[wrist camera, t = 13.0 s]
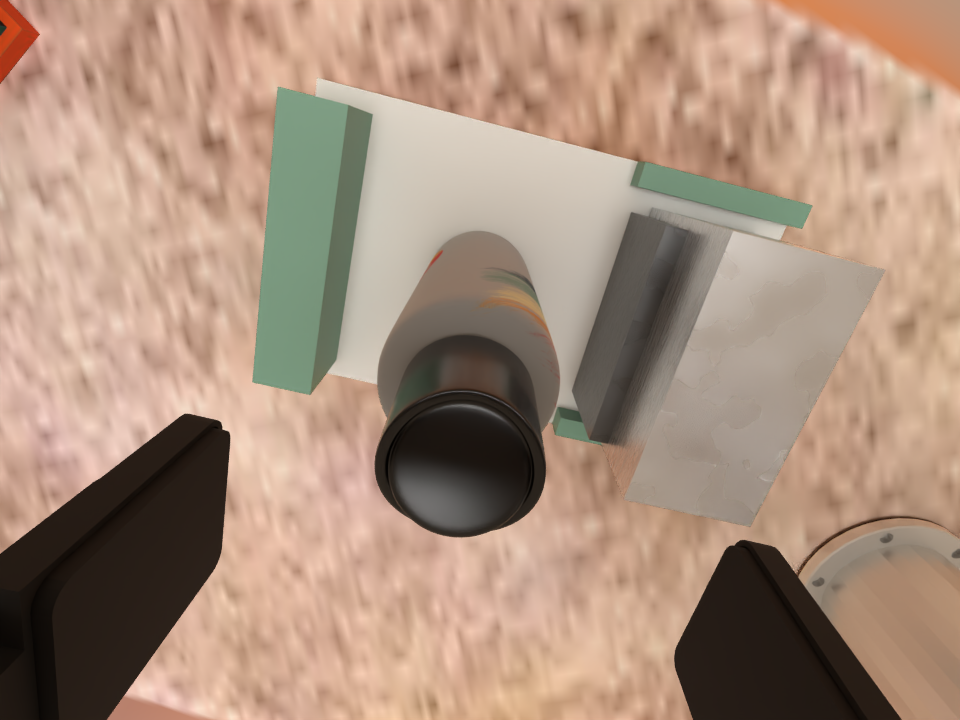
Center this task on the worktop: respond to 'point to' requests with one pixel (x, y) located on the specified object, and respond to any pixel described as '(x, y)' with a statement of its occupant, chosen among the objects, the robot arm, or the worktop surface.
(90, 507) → the robot arm
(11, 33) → the power tool
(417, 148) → the frame
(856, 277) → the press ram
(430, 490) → the lotion bottle
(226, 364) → the worktop surface
